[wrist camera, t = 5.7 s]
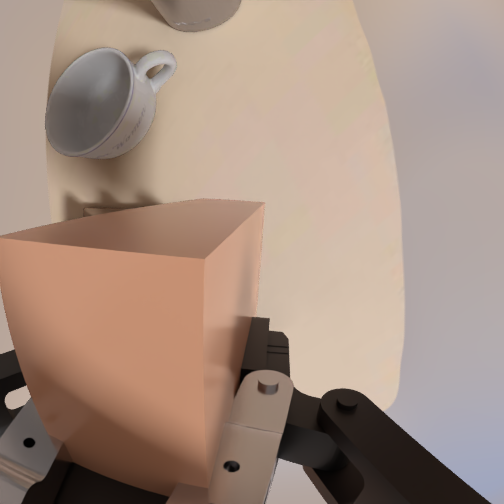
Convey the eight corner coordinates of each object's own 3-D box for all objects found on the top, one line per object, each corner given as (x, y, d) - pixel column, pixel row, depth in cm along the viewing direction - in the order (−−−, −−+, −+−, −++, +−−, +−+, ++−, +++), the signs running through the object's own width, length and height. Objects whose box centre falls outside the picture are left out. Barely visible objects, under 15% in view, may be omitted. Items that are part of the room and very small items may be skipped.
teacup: (91, 173, 30) (45, 172, 22) (83, 92, 28) (42, 75, 20) (203, 137, 28) (176, 120, 20) (187, 49, 26) (162, 15, 18)
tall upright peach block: (203, 198, 13) (-6, 237, 3) (265, 202, 13) (204, 259, 2) (200, 382, 15) (131, 553, 5) (250, 388, 15) (217, 574, 4)
